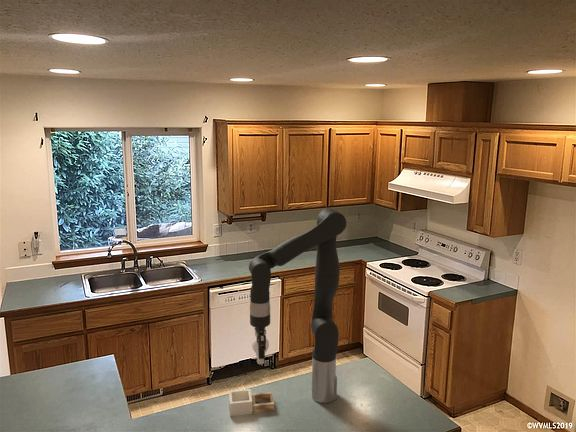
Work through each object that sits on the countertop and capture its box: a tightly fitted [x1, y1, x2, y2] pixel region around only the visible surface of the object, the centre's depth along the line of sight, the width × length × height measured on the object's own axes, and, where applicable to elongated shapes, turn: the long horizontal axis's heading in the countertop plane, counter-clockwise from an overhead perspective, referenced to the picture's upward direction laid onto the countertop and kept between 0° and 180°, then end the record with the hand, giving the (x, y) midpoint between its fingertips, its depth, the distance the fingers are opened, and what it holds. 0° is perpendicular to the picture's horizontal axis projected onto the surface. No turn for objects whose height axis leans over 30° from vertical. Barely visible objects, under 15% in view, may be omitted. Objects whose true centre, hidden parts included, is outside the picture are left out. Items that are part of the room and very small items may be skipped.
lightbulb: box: [251, 337, 270, 365], centre depth 171 cm, size 6×6×11 cm
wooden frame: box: [251, 391, 276, 414], centre depth 176 cm, size 8×8×3 cm
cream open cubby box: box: [228, 388, 254, 417], centre depth 174 cm, size 8×8×5 cm
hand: (260, 353), depth 172 cm, fingers closed on lightbulb, 6 cm apart
